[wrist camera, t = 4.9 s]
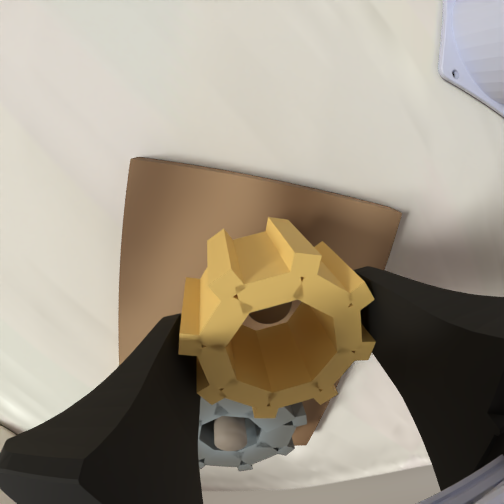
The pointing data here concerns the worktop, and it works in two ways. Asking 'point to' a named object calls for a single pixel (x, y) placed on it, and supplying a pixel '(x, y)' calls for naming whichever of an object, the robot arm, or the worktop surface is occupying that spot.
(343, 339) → the ochre gear
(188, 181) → the gear board
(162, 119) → the worktop surface
